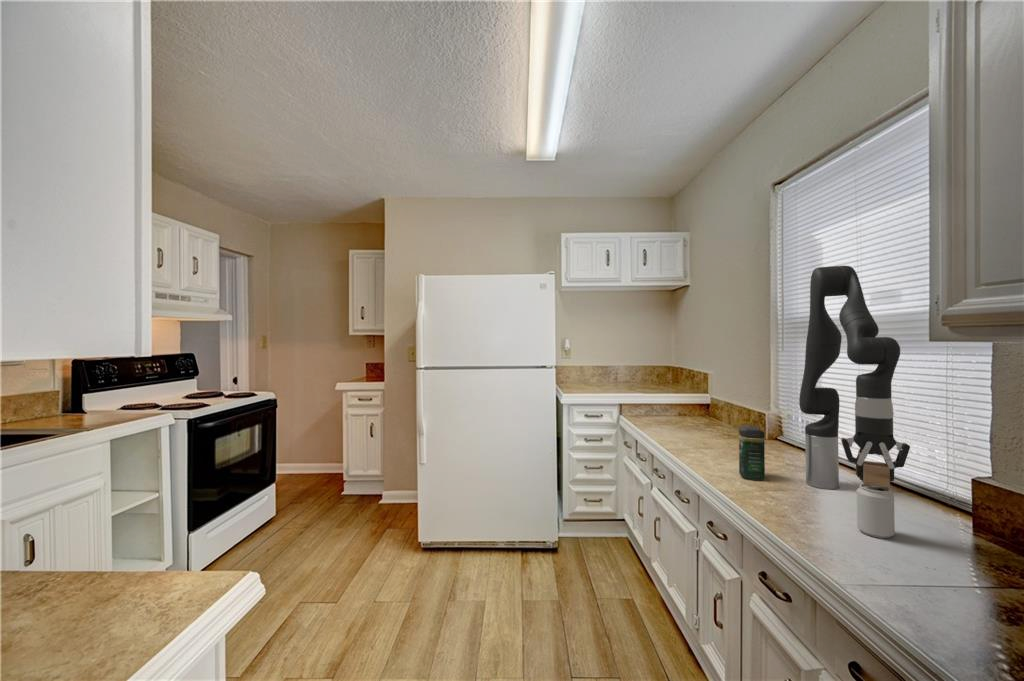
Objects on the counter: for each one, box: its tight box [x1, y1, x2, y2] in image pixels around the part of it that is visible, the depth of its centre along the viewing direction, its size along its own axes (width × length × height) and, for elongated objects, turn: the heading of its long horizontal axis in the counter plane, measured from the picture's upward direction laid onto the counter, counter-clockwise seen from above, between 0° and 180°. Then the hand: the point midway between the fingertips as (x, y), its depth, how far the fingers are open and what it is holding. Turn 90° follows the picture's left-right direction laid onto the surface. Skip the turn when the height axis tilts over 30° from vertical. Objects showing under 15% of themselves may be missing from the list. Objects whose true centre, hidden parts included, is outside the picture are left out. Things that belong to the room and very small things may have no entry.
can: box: [856, 483, 896, 539], centre depth 112 cm, size 8×8×12 cm
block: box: [861, 460, 891, 489], centre depth 112 cm, size 5×5×5 cm
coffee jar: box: [738, 424, 766, 481], centre depth 159 cm, size 10×8×19 cm
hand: (874, 480), depth 112 cm, fingers closed on block, 4 cm apart
